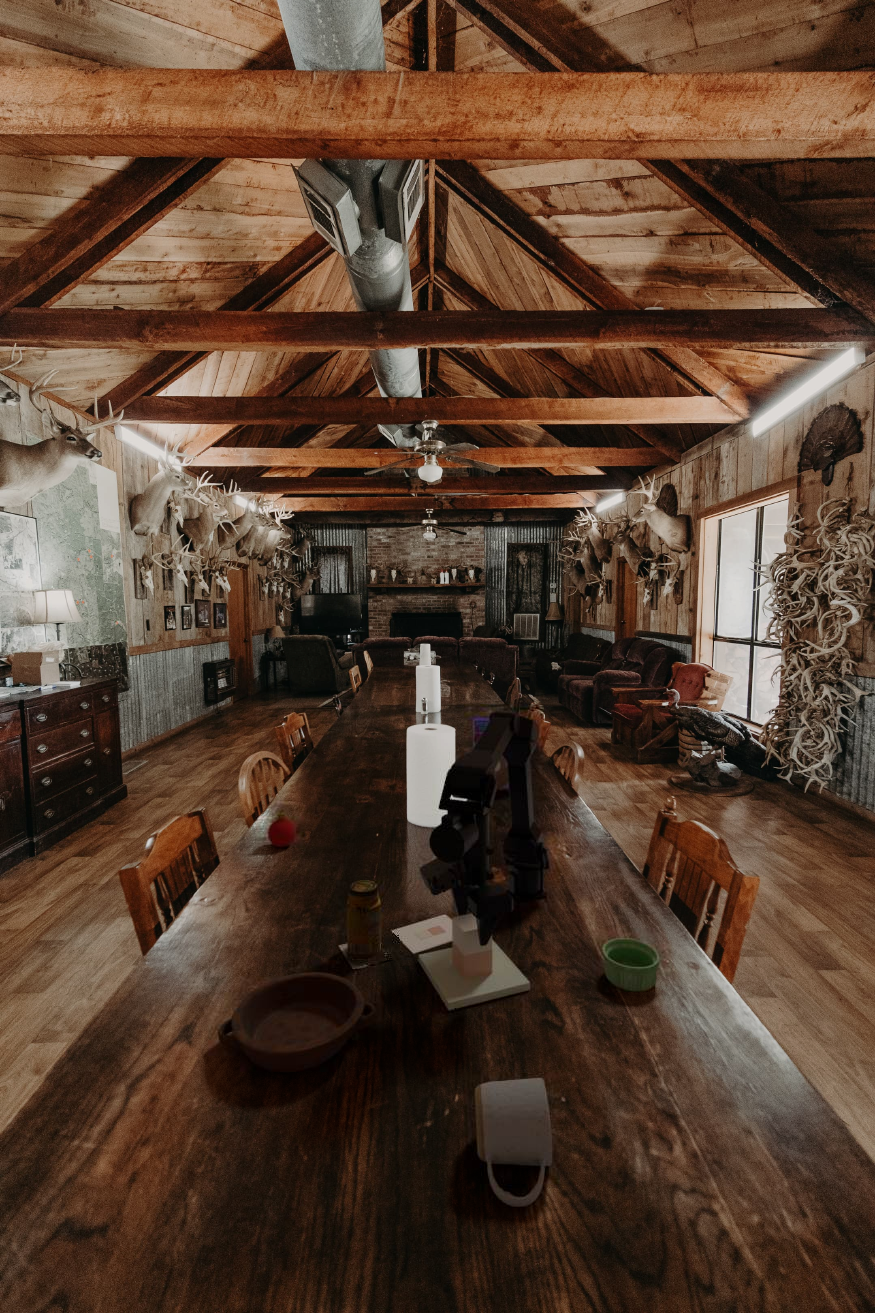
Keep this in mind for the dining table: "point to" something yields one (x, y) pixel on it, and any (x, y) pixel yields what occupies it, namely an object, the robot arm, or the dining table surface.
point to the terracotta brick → (472, 963)
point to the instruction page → (426, 934)
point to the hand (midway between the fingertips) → (472, 931)
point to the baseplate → (472, 979)
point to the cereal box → (501, 767)
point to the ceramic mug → (514, 1130)
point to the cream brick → (467, 935)
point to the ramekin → (630, 964)
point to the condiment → (362, 923)
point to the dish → (297, 1021)
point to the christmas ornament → (282, 831)
